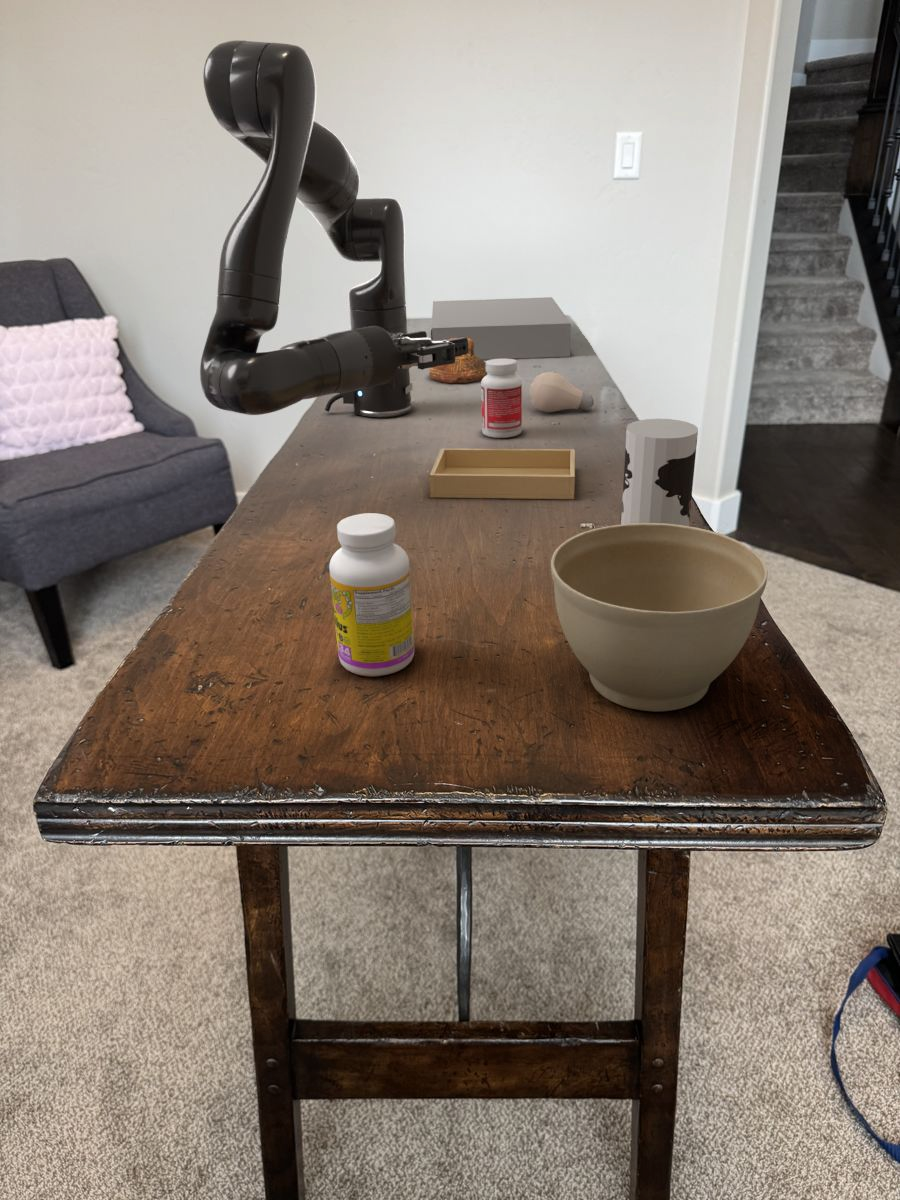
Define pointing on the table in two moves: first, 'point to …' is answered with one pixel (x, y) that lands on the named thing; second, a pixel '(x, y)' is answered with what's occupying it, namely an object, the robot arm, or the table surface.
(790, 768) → the table surface
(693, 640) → the planter bowl
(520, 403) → the pill bottle
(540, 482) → the tray
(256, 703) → the table surface
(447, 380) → the brown domed piece
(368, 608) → the supplement bottle
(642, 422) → the grey patterned cylinder
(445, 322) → the box
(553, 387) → the light bulb
